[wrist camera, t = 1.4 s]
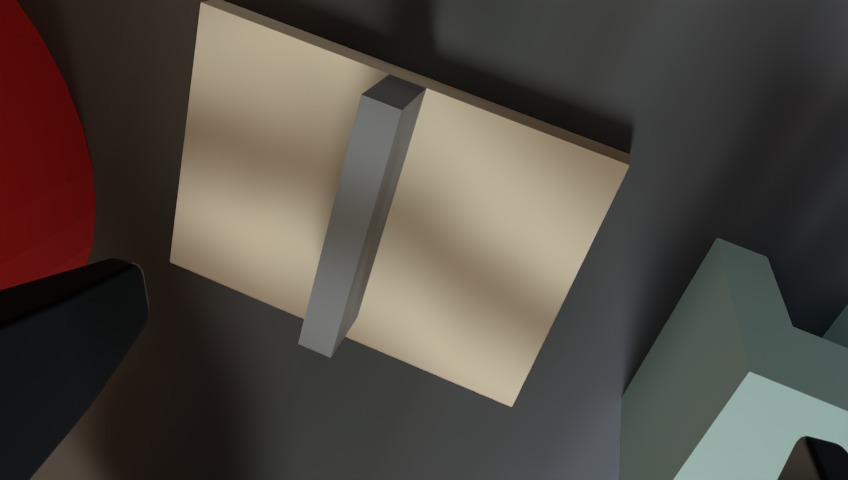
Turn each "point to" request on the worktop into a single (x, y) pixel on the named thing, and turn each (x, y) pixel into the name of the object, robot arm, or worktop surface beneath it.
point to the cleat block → (732, 380)
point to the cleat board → (382, 201)
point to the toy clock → (39, 160)
